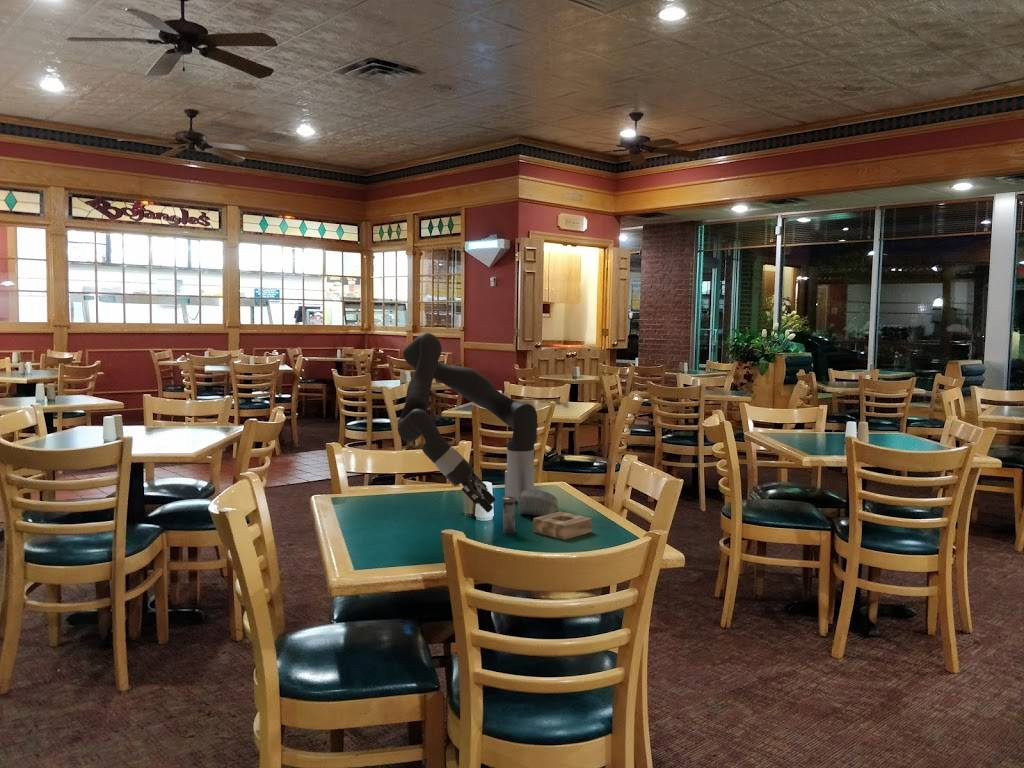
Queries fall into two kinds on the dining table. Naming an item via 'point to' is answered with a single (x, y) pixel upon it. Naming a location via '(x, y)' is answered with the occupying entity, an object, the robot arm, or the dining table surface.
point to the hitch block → (562, 525)
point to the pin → (508, 514)
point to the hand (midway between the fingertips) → (492, 506)
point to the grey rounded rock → (537, 503)
